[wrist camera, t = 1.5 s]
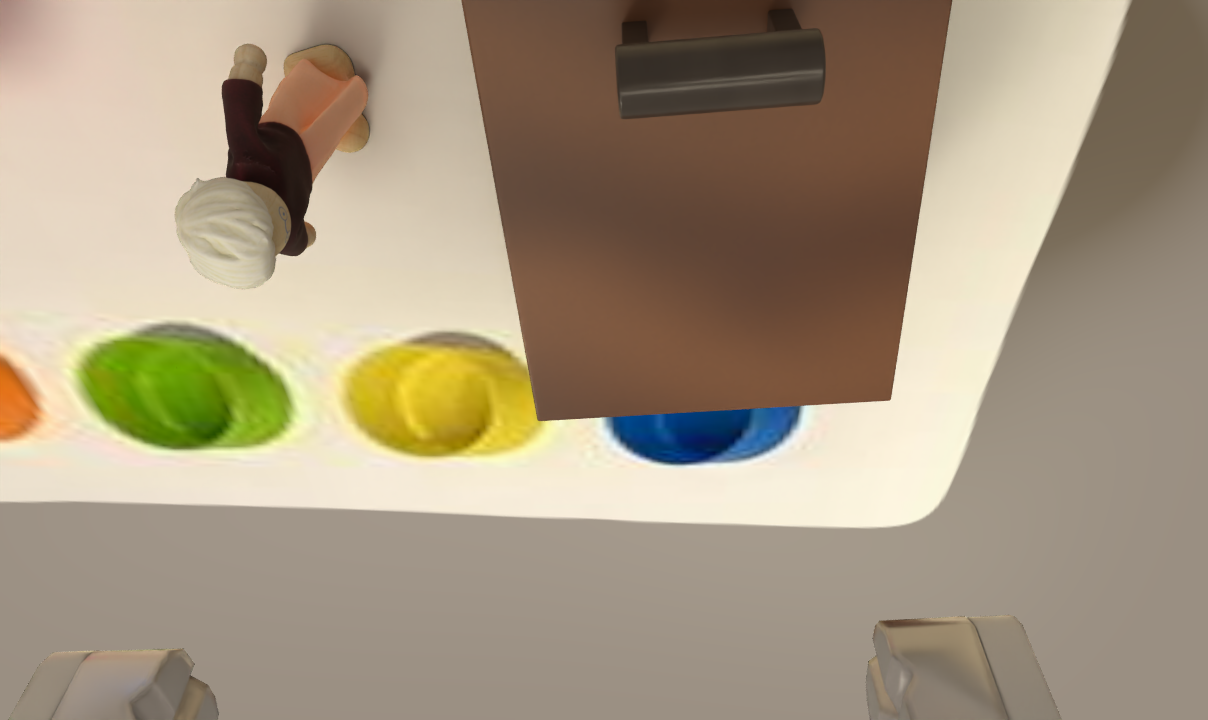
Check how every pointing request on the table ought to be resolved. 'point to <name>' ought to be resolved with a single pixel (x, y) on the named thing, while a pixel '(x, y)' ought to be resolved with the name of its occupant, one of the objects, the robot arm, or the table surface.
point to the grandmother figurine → (271, 163)
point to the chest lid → (708, 194)
